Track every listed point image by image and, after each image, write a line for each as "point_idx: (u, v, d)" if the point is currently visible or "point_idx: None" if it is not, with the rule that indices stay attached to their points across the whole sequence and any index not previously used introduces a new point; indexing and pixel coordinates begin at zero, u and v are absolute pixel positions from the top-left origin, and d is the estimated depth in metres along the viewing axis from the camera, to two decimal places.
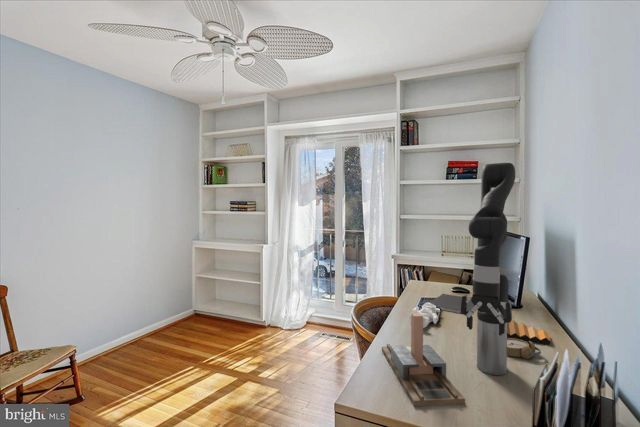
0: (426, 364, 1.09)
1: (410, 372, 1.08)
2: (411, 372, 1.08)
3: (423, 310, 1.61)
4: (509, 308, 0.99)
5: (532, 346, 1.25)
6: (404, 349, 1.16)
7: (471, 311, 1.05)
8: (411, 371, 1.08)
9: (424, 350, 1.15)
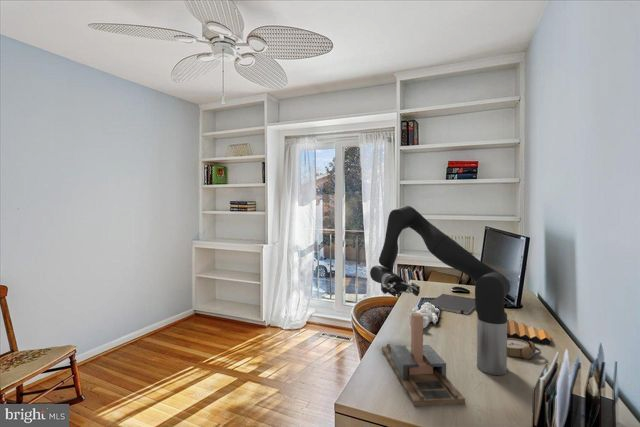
0: (426, 364, 1.09)
1: (410, 372, 1.08)
2: (411, 372, 1.08)
3: (422, 310, 1.61)
4: None
5: (532, 346, 1.25)
6: (404, 349, 1.16)
7: (410, 292, 1.28)
8: (411, 371, 1.08)
9: (424, 350, 1.15)
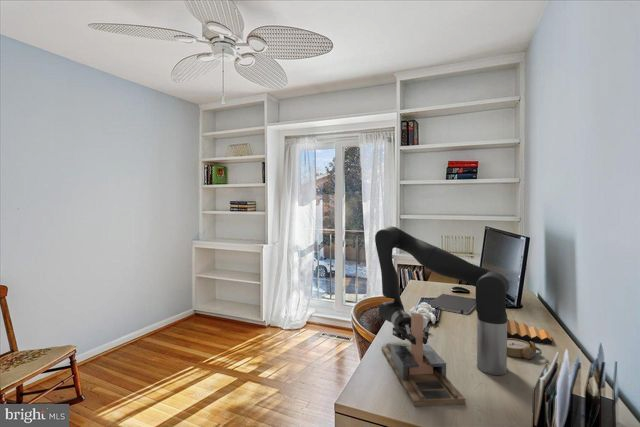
0: (426, 364, 1.09)
1: (410, 372, 1.08)
2: (411, 372, 1.08)
3: (421, 310, 1.61)
4: (395, 335, 1.17)
5: (533, 346, 1.25)
6: (404, 349, 1.16)
7: None
8: (411, 371, 1.08)
9: (424, 350, 1.15)
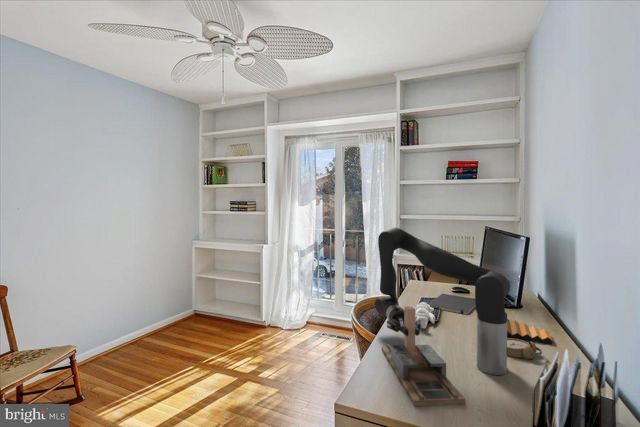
0: (418, 354, 1.16)
1: None
2: None
3: (420, 310, 1.61)
4: None
5: (533, 346, 1.25)
6: (404, 349, 1.16)
7: None
8: None
9: (424, 350, 1.15)
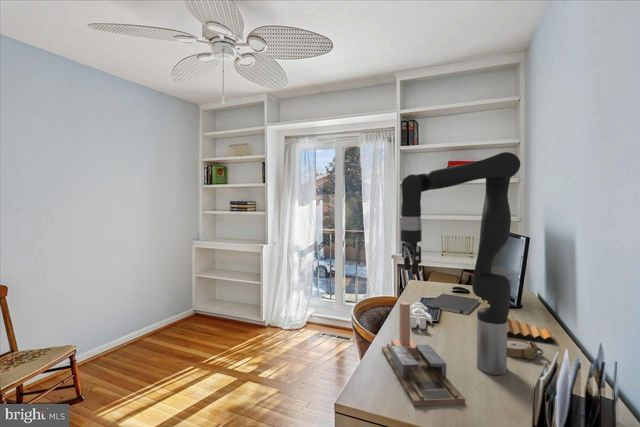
0: (412, 347, 1.22)
1: None
2: None
3: (417, 310, 1.61)
4: (414, 251, 1.16)
5: (534, 347, 1.25)
6: (404, 349, 1.16)
7: (404, 254, 1.27)
8: None
9: (424, 350, 1.15)
